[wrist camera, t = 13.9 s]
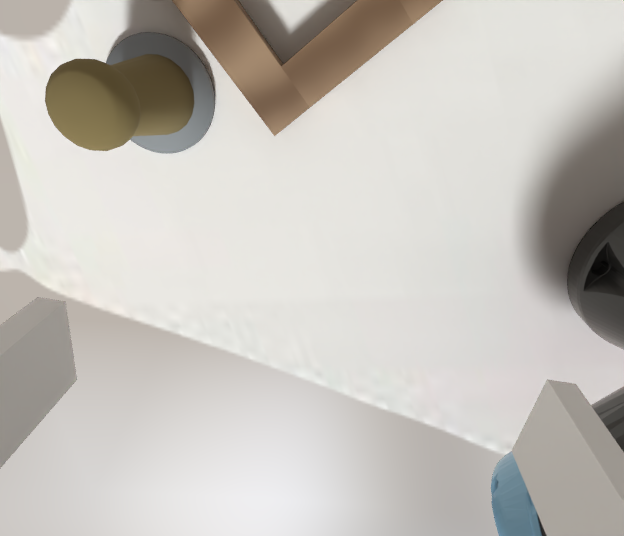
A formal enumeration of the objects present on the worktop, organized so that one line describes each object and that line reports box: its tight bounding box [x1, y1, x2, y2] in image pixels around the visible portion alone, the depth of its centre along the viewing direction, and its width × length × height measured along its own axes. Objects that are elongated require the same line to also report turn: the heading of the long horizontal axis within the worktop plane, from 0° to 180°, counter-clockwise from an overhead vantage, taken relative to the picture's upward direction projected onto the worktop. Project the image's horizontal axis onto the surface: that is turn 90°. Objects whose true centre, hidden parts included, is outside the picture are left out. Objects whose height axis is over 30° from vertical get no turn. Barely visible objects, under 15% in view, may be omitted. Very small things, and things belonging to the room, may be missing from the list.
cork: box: [45, 54, 194, 151], centre depth 29 cm, size 6×6×11 cm
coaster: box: [106, 32, 215, 153], centre depth 34 cm, size 9×9×1 cm
